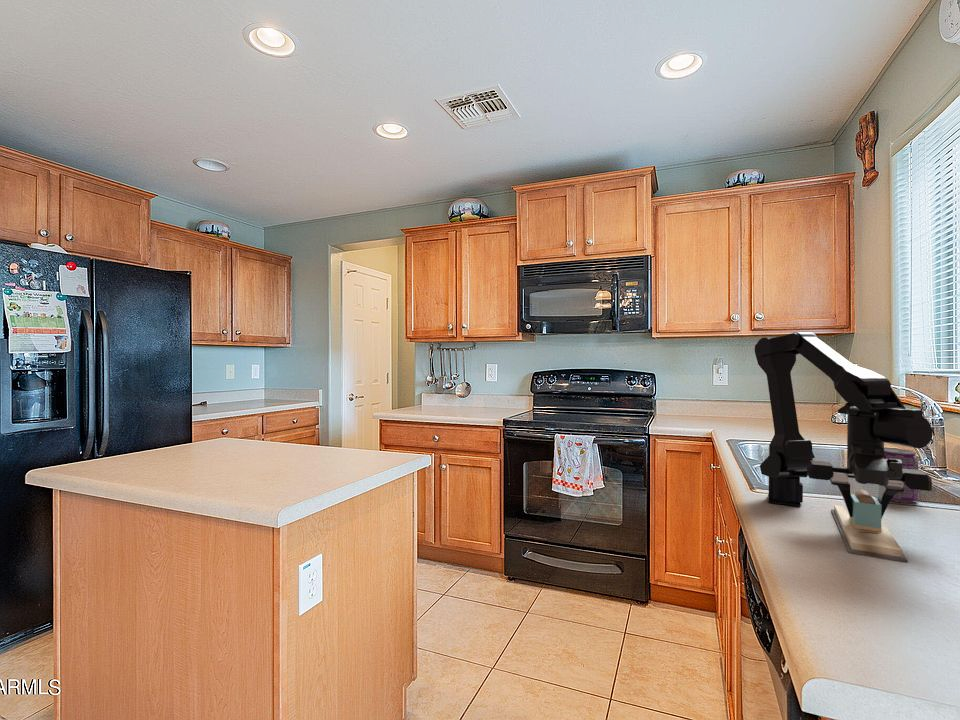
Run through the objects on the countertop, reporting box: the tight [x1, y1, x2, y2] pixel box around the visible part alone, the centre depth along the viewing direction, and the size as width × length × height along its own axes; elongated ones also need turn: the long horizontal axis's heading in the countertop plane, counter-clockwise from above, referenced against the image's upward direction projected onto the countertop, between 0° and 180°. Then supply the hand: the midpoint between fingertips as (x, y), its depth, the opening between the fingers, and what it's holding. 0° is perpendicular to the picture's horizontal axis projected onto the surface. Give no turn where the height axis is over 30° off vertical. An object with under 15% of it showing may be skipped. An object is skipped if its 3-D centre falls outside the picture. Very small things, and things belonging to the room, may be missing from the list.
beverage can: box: [884, 447, 919, 503], centre depth 119 cm, size 7×7×12 cm
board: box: [831, 504, 908, 563], centre depth 97 cm, size 8×27×2 cm, turn 150°
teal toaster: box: [849, 489, 882, 532], centre depth 96 cm, size 4×7×6 cm, turn 150°
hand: (864, 518), depth 96 cm, fingers closed on teal toaster, 4 cm apart
